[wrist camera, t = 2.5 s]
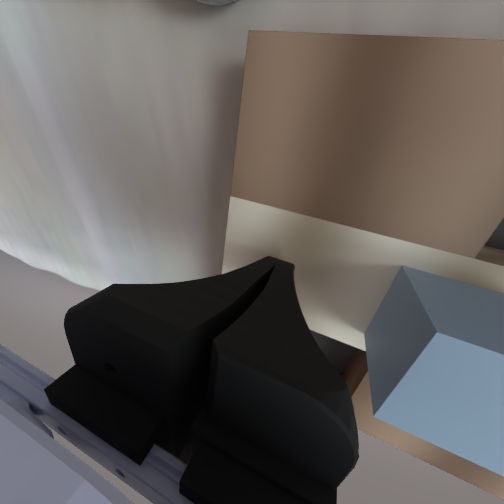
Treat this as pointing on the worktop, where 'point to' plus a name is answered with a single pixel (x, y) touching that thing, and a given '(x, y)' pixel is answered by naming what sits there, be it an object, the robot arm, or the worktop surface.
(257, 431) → the robot arm
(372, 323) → the block
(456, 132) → the trap board
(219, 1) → the ceramic mug
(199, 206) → the worktop surface
